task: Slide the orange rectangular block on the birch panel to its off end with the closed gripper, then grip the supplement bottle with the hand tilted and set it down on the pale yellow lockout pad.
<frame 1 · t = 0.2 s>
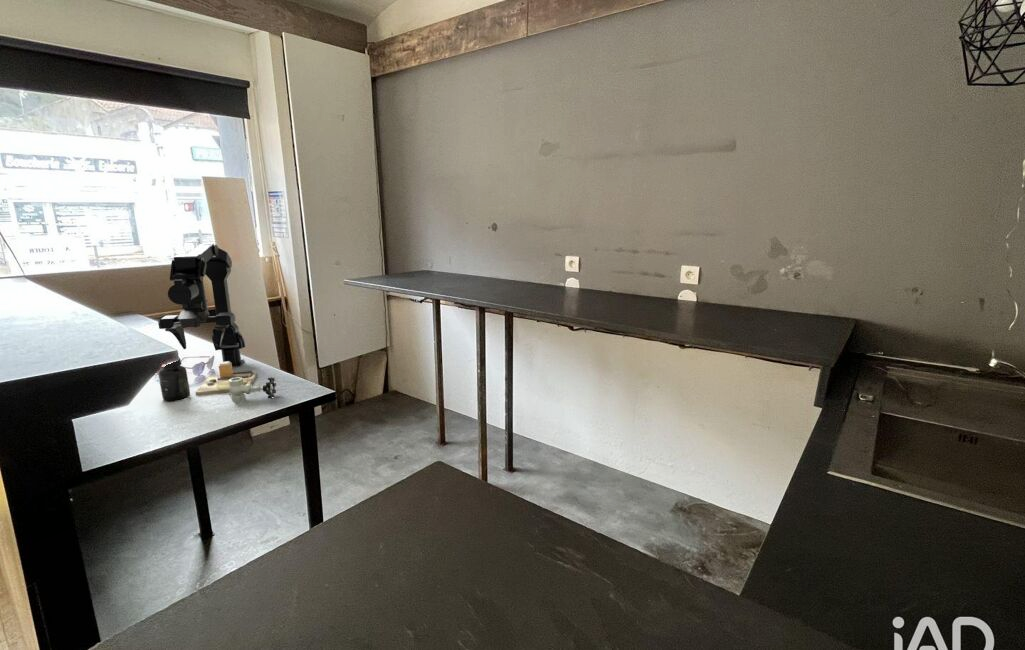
hand: (202, 347, 147), 14 cm above the table, tool pointing down, fingers open, 9 cm apart
valve: (252, 399, 144), on the table
panel: (228, 385, 155), on the table
supplement bottle: (177, 398, 145), on the table
orange rectangular block: (225, 369, 158), point 4 cm above the table, slide at 0.0 cm
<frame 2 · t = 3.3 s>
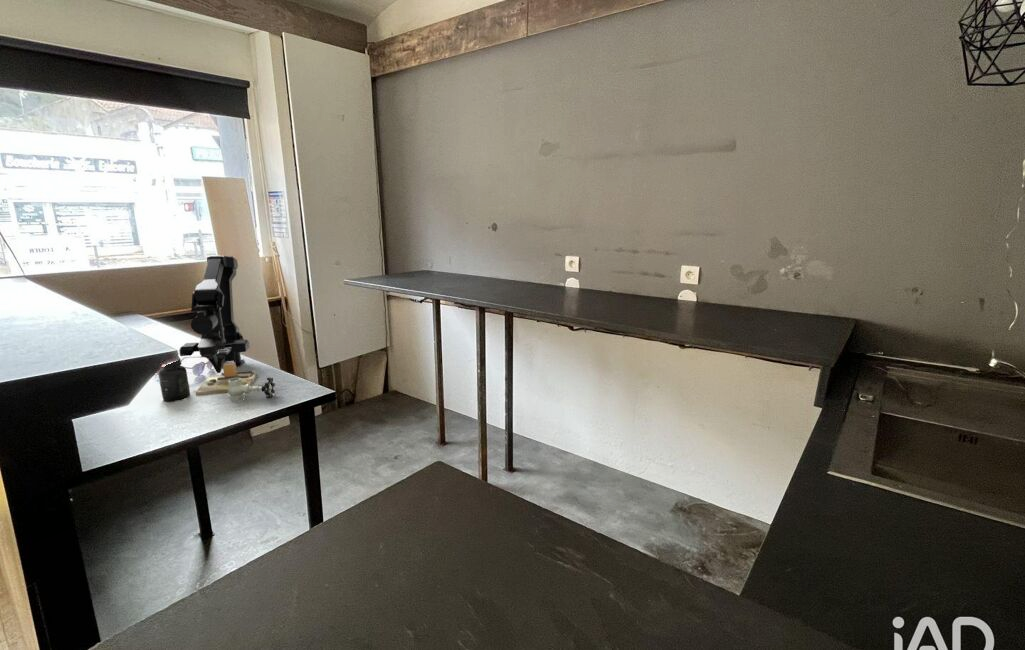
hand: (219, 372, 158), 3 cm above the table, tool pointing down, fingers closed
orange rectangular block: (229, 368, 159), point 4 cm above the table, slide at 1.2 cm, touching gripper
everything else where it was.
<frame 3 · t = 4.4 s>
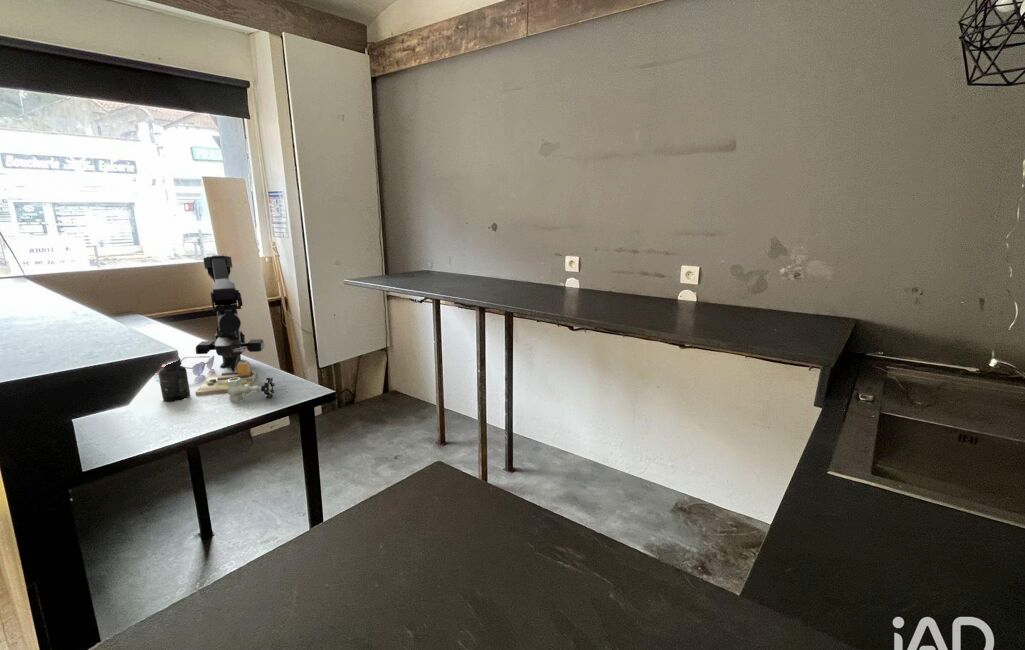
hand: (233, 371, 159), 3 cm above the table, tool pointing down, fingers closed
orange rectangular block: (243, 367, 160), point 4 cm above the table, slide at 5.2 cm, touching gripper
everything else where it was.
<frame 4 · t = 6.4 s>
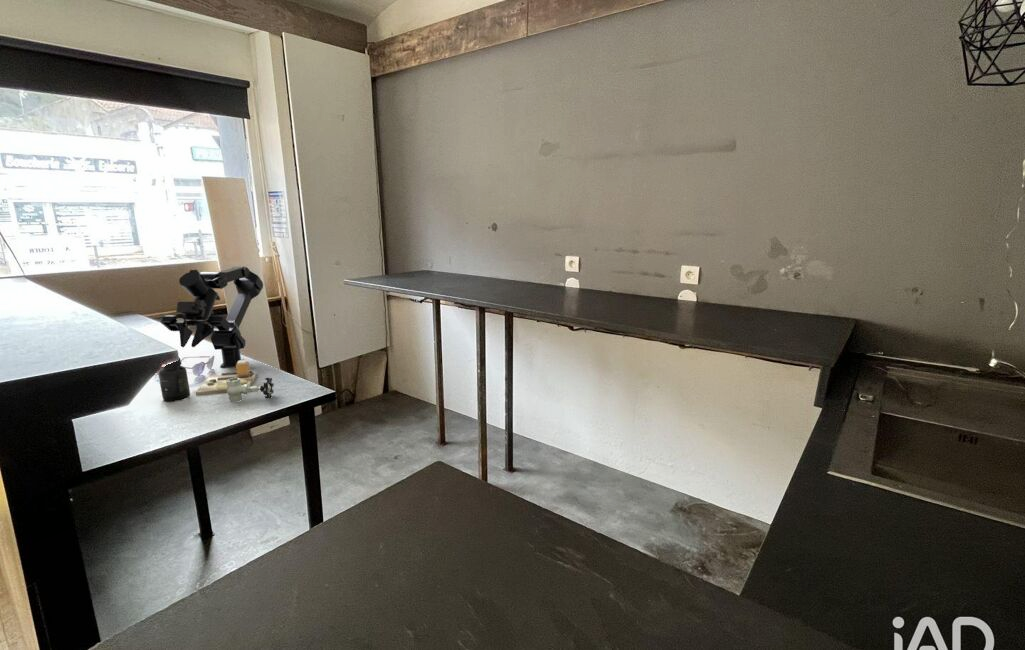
hand: (187, 346, 149), 14 cm above the table, tool tilted 45°, fingers open, 3 cm apart
orange rectangular block: (242, 367, 160), point 4 cm above the table, slide at 5.0 cm
everything else where it was.
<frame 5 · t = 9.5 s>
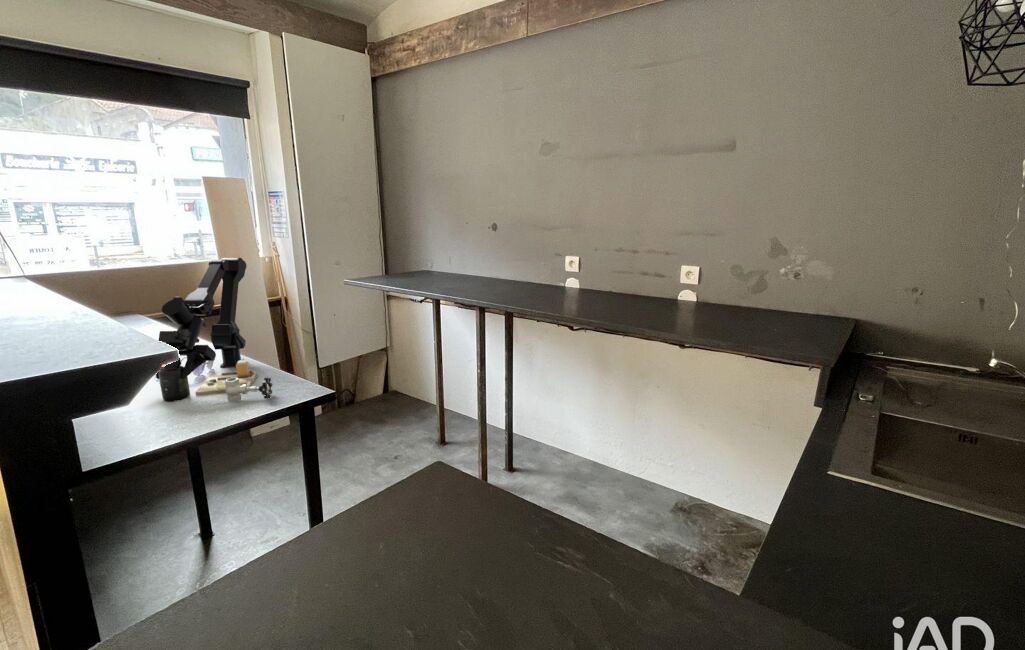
hand: (170, 378, 142), 7 cm above the table, tool tilted 45°, fingers closed on supplement bottle, 7 cm apart
supplement bottle: (177, 398, 145), on the table, touching gripper
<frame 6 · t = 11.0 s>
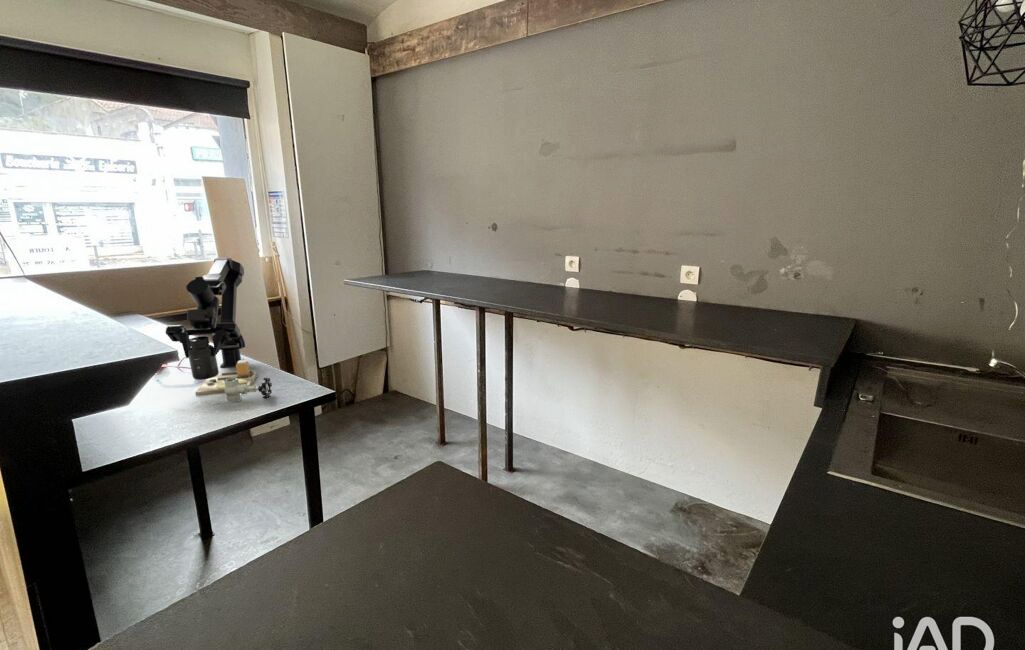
hand: (200, 356, 144), 12 cm above the table, tool tilted 45°, fingers closed on supplement bottle, 7 cm apart
supplement bottle: (206, 376, 147), point 5 cm above the table, touching gripper
when the fingers open (9 cm above the table, at t = 12.6 s): supplement bottle stays where it is, resting on panel.
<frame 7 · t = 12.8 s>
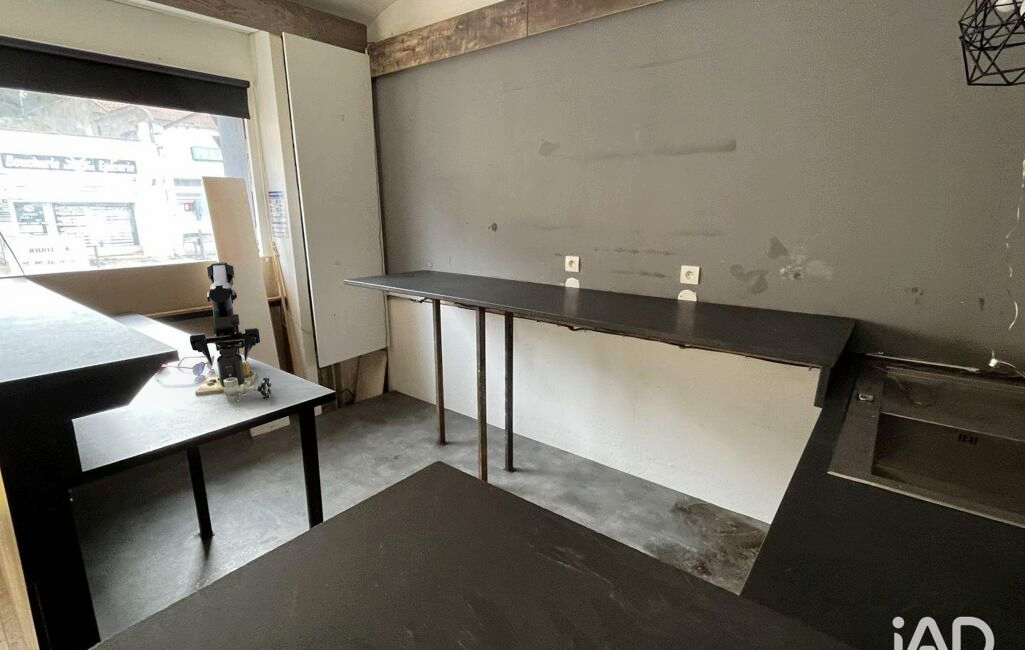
hand: (228, 362, 149), 9 cm above the table, tool tilted 45°, fingers open, 9 cm apart
supplement bottle: (233, 384, 152), point 1 cm above the table, touching panel
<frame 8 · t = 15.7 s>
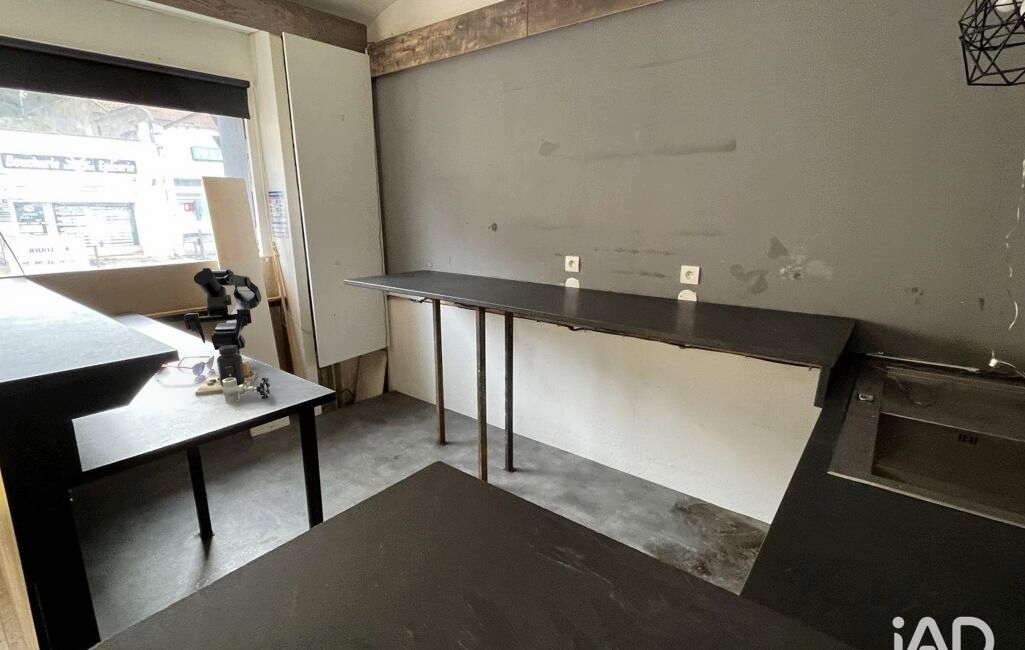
hand: (221, 340, 156), 14 cm above the table, tool tilted 45°, fingers open, 9 cm apart
at the end: orange rectangular block slide at 5.0 cm; supplement bottle inside the target area (0.4 cm from its centre), point 1.3 cm above the table; supplement bottle tilted 0° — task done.
